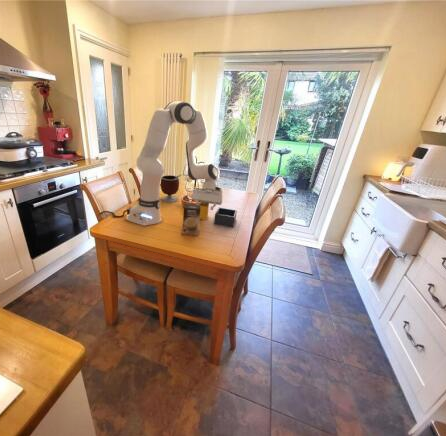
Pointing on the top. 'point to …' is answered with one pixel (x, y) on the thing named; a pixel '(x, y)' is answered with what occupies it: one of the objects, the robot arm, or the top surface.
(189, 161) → the robot arm
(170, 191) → the mate gourd
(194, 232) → the coffee box
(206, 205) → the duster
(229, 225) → the case
